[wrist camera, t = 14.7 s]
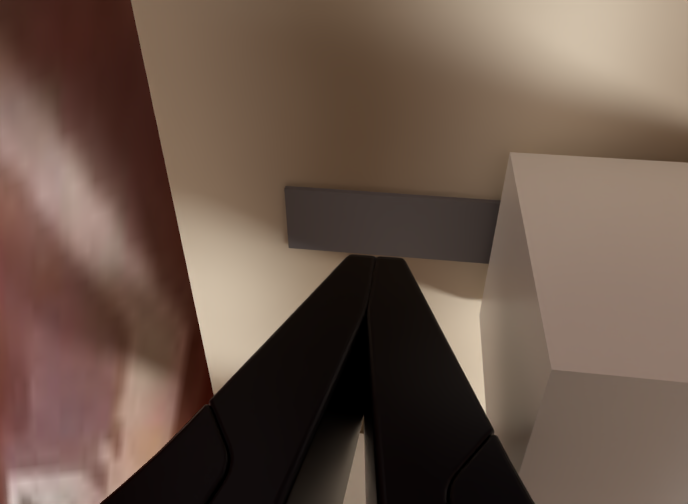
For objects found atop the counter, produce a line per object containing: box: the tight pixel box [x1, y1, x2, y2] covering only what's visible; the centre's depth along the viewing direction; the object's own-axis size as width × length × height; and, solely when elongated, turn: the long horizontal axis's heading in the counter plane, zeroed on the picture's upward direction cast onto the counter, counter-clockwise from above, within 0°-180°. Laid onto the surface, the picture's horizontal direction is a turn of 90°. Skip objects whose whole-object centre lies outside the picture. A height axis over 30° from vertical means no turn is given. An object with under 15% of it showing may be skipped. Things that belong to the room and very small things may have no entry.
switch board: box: [131, 0, 688, 434], centre depth 14 cm, size 18×22×3 cm
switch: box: [479, 152, 688, 504], centre depth 8 cm, size 4×3×4 cm
